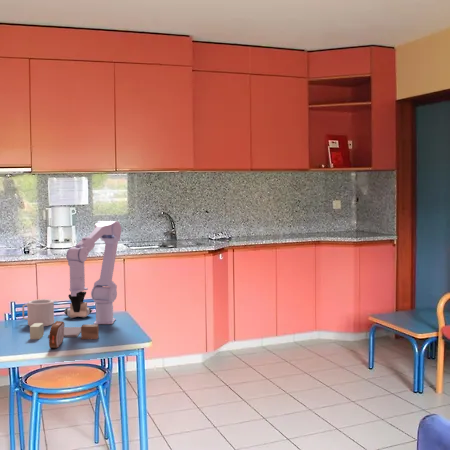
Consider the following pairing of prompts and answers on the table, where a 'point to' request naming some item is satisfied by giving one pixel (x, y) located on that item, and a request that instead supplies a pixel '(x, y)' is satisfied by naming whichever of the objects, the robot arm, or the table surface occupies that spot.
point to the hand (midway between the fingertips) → (77, 311)
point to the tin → (56, 334)
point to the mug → (40, 312)
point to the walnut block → (90, 331)
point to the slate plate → (71, 331)
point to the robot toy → (67, 312)
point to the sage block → (36, 331)
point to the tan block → (82, 310)
